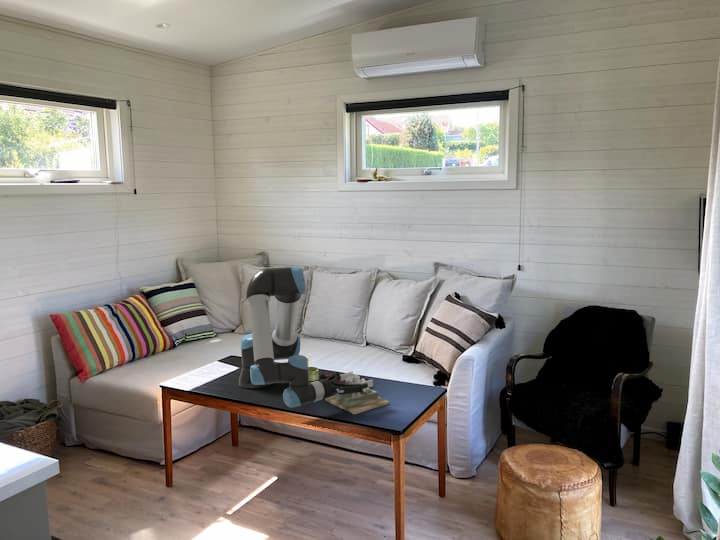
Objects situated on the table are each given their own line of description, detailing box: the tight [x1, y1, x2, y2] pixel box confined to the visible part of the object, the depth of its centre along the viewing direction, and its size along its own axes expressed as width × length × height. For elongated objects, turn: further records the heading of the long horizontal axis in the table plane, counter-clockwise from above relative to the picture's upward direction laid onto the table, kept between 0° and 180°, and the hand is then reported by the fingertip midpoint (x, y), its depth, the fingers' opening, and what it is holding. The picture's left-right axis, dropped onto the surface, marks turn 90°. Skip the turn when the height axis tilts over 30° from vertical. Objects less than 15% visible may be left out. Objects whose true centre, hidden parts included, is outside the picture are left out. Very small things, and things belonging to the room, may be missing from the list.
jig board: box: [325, 387, 389, 415], centre depth 248 cm, size 20×18×4 cm
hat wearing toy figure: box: [346, 371, 365, 399], centre depth 248 cm, size 9×4×12 cm, turn 70°
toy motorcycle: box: [319, 371, 370, 386], centre depth 268 cm, size 25×5×16 cm
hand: (362, 378), depth 249 cm, fingers open, 13 cm apart
